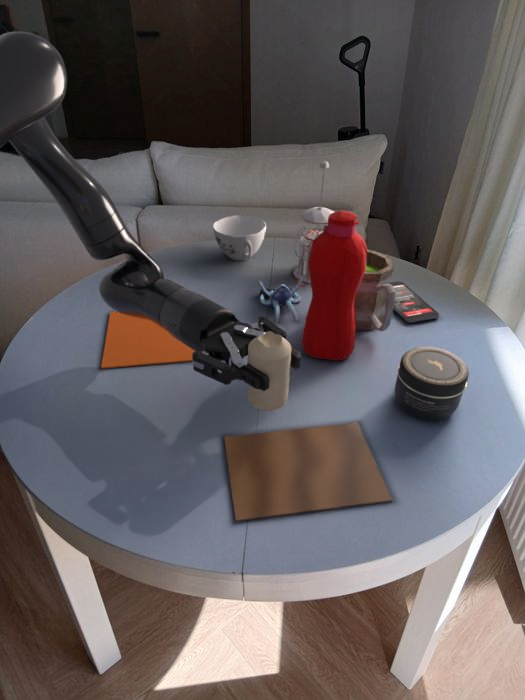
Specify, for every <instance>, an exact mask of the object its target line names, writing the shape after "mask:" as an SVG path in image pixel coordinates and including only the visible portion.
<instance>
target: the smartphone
mask: <svg viewBox="0 0 525 700" xmlns="http://www.w3.org/2000/svg"><path fill="white" fill-rule="evenodd" d="M390 285H392V286H393V287H394V289H395V291H396V302H395V305H394V309H393V311H395V312H396V313H397V314H398V315H400V317H402V318H403V320H404V321H405V322H407V323H410V324H412V323H417V322H423V321H428V320H434V319H438V318H440V317H439V316H440V313H439V312H438V311H437V310H435V309H434V308H433V307H432V306H431V305H430V304H429V303H427V302H426V301H425V300H424V299H422V297H420V296H419V295H418V294H417V293H416V292H415V291H413V290H412V289H411V288H410V287H409V286H408V285H406V284H405V283H404V282H403V281H392V282H391V281H390ZM387 303H388V299H387V302H386V304H387Z"/></svg>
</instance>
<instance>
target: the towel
mask: <svg viewBox="0 0 525 700" xmlns="http://www.w3.org/2000/svg"><path fill="white" fill-rule="evenodd" d="M193 352H196V351H194V350H193V349H191V348H190V347H188V346H187V345H185V344H183V343H182V342H180V341H179V340H177V339H176V338H174V337H173V336H172V335H171V334H170V333H169V332H167V331H166V330H165V329H163V328H162V327H160V326H159V325H157V324H156V323H154V322H152V321H150V320H145V319H141V318H136V317H132V316H127V315H124V314H121V313H119V312H117V311H110V312H109V316H108V324H107V329H106V335H105V342H104V347H103V354H102V359H101V365H100V369H104V370H105V369H113V368H114V369H115V368H126V367H139V366H151V365H162V364H174V363H184V362H185V363H187V362H193V359H192V353H193Z"/></svg>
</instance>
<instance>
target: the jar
mask: <svg viewBox="0 0 525 700" xmlns="http://www.w3.org/2000/svg"><path fill="white" fill-rule="evenodd" d="M469 375H470V374H469V368H468V366H467V364H466V363H465V362H464V360H462V359H461V358H460V357H459V356H457V355H456V354H454V353H452V352H451V351H448V350H445V349H442V348H440V347H439V348H438V347H433V346H419V347H414V348H411V349H409V350H407V351H405V353H403V355H402V357H401V359H400V362H399V365H398V369H397V375H396V380H395V384H394V397H395V401H396V403H397V405H398V406H399V408H400V409H401V410H402V411H403V412H404V413H405V414H407V416H410V417H412V418H414V419H416V420H419V421H423V422H431V423H432V422H440V421H443V420H446V419H448V418H450V417H451V416H452V415H453V414H454V412H455V411H456V410H457V409H458V407H459V405H460V402H461V400H462V397H463V393H464V391H465V390H466V388H467V385H468V381H469V380H468V379H469Z"/></svg>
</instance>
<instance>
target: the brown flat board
mask: <svg viewBox="0 0 525 700" xmlns="http://www.w3.org/2000/svg"><path fill="white" fill-rule="evenodd" d="M223 441H224V447H225V454H226V455H225V456H226V461H227V469H228V477H229V484H230V491H231V498H232V499H231V500H232V506H233V513H234V519H235V522H244V521H245V522H246V521H251V520H259V519H266V518H274V517H282V516H283V517H284V516H290V515H297V514H306V513H313V512H321V511H327V510H336V509H344V508H351V507H358V506H367V505H373V504H381V503H389V502H393V498H392V496H391V493H390V491H389V489H388V486H387V484H386V482H385V480H384V478H383V475H382V474H381V471H380V469H379V467H378V465H377V462H376V460H375V458H374V456H373V453H372V451H371V449H370V447H369V444H368V443H367V441H366V438H365V436H364V434H363V431H362V429H361V427H360V425H359V422H352V423H351V422H350V423H341V424H340V423H339V424H332V425H322V426H321V425H320V426H312V427H302V428H295V429H286V430H275V431H274V430H273V431H266V432H257V433H247V434H238V435H229V436H224V437H223Z"/></svg>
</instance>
